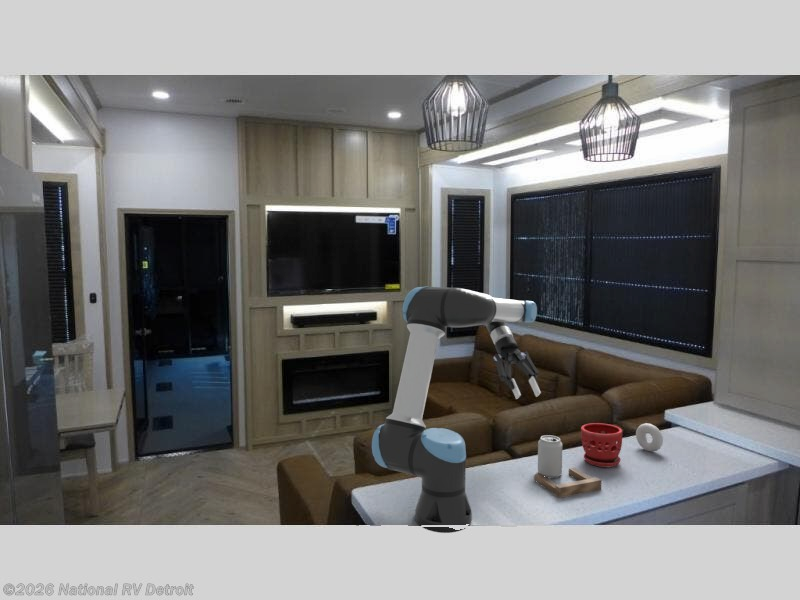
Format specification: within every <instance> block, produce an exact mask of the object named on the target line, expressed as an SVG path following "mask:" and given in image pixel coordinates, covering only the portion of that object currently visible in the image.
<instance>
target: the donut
mask: <svg viewBox="0 0 800 600" xmlns="http://www.w3.org/2000/svg"><path fill="white" fill-rule="evenodd" d="M647 434H649V435H650V436H651V438H652V439H651V441H649V440H648V438H647ZM635 436H636V437H635V438H636V441H637V443H638V444H639V446H640V447H641V448H642V449H643V450H645V451H647V452H653V453H654V452H658V450H660V449H661V448H662V446H663V443H664V437H663V434H662V432H661V431H660V429H659V428H658V427H657V426H656V425H653V424H652V423H647V422H645V423H642V424H640V425H639V426H638V427H637V429H636V431H635Z"/></svg>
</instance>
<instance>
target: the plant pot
mask: <svg viewBox="0 0 800 600" xmlns="http://www.w3.org/2000/svg"><path fill="white" fill-rule="evenodd" d="M602 432H604V433H602ZM580 438H581V444H582V449H583V451H584V454H583V459H584V460H585V461H586V462H587V463H589V464H590V465H591V466H595V467H599V468H600V467H601V468H611V467H616V466H617V465H619V464H620V462H621V460H622V459H621V457H620V456H619V455H620V453H621V450H622V445H623V429H621V428H620V427H619V426H617V425H614V424H608V423H600V422H597V423H596V422H595V423H593V422H591V423H586V424H583V425H582V426H581V427H580Z"/></svg>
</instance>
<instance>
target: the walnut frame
mask: <svg viewBox="0 0 800 600" xmlns="http://www.w3.org/2000/svg"><path fill="white" fill-rule="evenodd" d="M568 475H569V476H570V477H572V478H574V479H576V481H572V482H571V481H570V482H567V483H566V482H565V483H559V484H557V483H555V482H553V481H552V480H551V479H550V478H548V477H544V476H543V475H541V474H540V473H536V474H534V475H533V478H534V479H533V480H535V481H534V482H536V481H537V482H538V483H539V485H540V486H541V485H542V487H543V488H544V487H545V488H544V489H545V490H547V491H549V492H550V493H551V494H553V495H554V496H556V497H557V498H559V499H561V498H566V497H571V496H576V495H580V494H586V493H591V492H596V491H601V490H602V480H601V479H600V478H598V477H591V476H590V475H588V474H587V473H584V472H583V471H581V470H579V469H577V468H576V467H569V468H568ZM537 482H536V483H537ZM538 483H537V484H538Z"/></svg>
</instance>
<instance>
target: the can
mask: <svg viewBox="0 0 800 600" xmlns="http://www.w3.org/2000/svg"><path fill="white" fill-rule="evenodd" d="M537 443H538V444H537V472H538V474H541V475H543V476H545V477H546V478H548V477H549V478H548V479H555V478H556V479H557V478H559V476H561V475H563V474H562V473H563V442H562V441H561V438H560V437H558V436H556V435H550V434H549V435H548V434H546V435H541V436H540V438H539V440H538V442H537Z"/></svg>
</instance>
